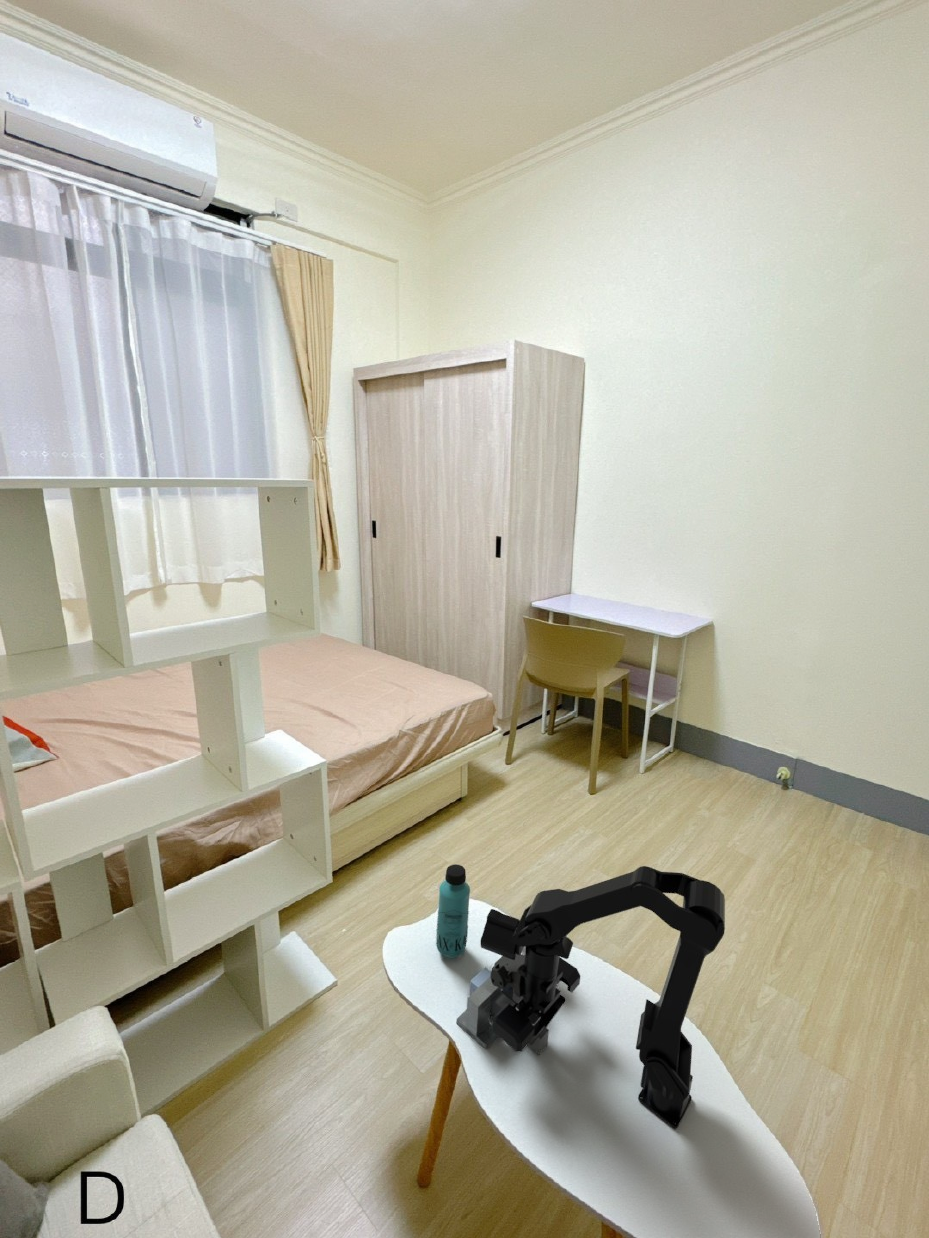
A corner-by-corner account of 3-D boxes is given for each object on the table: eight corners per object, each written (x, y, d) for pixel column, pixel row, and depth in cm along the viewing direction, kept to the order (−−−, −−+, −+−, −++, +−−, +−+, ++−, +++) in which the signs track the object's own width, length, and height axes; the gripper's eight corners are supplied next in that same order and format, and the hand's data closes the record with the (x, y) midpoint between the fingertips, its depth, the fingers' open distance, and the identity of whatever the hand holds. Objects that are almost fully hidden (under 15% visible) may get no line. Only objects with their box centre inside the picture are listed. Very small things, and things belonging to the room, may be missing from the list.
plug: (550, 1041, 102) (552, 1019, 101) (536, 1059, 99) (538, 1036, 98) (480, 984, 113) (481, 963, 112) (465, 999, 110) (466, 977, 108)
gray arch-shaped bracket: (532, 998, 110) (535, 966, 109) (485, 1049, 100) (488, 1014, 98) (504, 976, 115) (506, 945, 113) (456, 1023, 105) (458, 989, 103)
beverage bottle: (432, 942, 122) (435, 861, 117) (461, 936, 124) (466, 856, 119) (439, 967, 116) (443, 883, 111) (471, 960, 118) (476, 877, 113)
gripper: (534, 911, 110) (528, 978, 114) (469, 969, 96) (465, 1043, 100) (585, 944, 103) (577, 1014, 106) (522, 1011, 89) (516, 1089, 93)
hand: (534, 1037), depth 102 cm, fingers closed on plug, 2 cm apart
